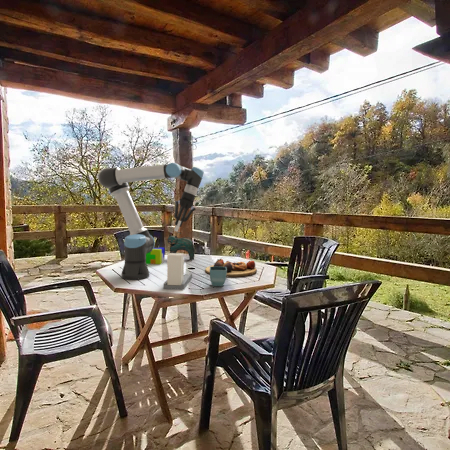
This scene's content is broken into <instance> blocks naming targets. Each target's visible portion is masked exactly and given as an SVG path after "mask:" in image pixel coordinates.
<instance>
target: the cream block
mask: <svg viewBox="0 0 450 450" xmlns="http://www.w3.org/2000/svg"><path fill="white" fill-rule="evenodd" d="M184 255H185V254H184V253H180V252H179V253H177V252H176V253H170V252H169V253H168V254H167V256H166V257H167V259H166V262H167V263H166V265H167V269H166V271H167V275H166V276H167V278H166V280H167V285H182V283H183V282H184V275H185V274H184V273H185V271H184V268H185V267H184V263H185V262H184V261H185V259H184V257H185V256H184Z"/></svg>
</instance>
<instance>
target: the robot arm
mask: <svg viewBox="0 0 450 450" xmlns="http://www.w3.org/2000/svg"><path fill="white" fill-rule="evenodd" d="M204 174H205V173H204V170H203V169H201V168H200V167H195V166H192V167H191V168H187V167H185V166H182V165H180V164H178V163H177V162H170V163H167V164H157V165H148V166H139V167H137V166H136V167H129V168H128V167H127V168H120V167H106V168H102V170H101V171H99V174H98V182H99V184H100V185H101V186H102V187H103V188H106V189H108V191H109V193H110V195H111V196H114V198H115V200H116V202H117V205H118V207H119V210H120V212H121V214H122V217H123V219H124V221H125V223H126V226H127V228H128V231H129V235H127V236H125V237H124V241H123V245H124V246H123V248H124V252H123V253H124V265H123V268H122V271H121V279H124V280H128V281H130V280H132V281H133V280H134V281H135V280H143V279H147V278H149V277H150V271H149V268H148V264H146V254H147V253H149V252H151V251H152V249H153V248H154V247H155V245H156V242H155V238H154V237H153V235H151V234H150V232H149V230H148V228H145V227H144V225H143V223H142V220H141V217H140V215H139V213H138V210H137V208H136V206H135V202H134V200H133V198H132V195H131V193H130V189H131V188H130V185H129V183H135V182H143V181H144V182H145V181H152V180H153V181H154V180H161V179H171V178H175V179H178V180H180V181H184V182H186V183H185V187H184V190H183V192H182V194H181V197H180V198H179V200H175V201H174V205H175V206H174V213H173V218H175V222H174V225H175V226H174V230H173V231H174V232H176V233H177V232H179V228H180V227H182V225H183V223H184V222H187V221H188V220H189V218H190V216H191V215H192V214H193V212H194V211H196V208H195V206H194V201H195V199H196V196H197V193H198V191H199V188H200V185H201V182H202V181H203V178H204V177H203V176H204ZM179 206H180V207H179ZM189 209H190V210H189ZM188 210H189V211H188Z"/></svg>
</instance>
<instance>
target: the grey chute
mask: <svg viewBox="0 0 450 450" xmlns="http://www.w3.org/2000/svg"><path fill="white" fill-rule="evenodd" d="M192 279H193V272H190V273H188V274H184V282H183V283H182V285H167V279H166V280H165V282H163V290H182V289H184V290H185V289H186V288H187V286H188V284H189V283H190V282H191V280H192Z"/></svg>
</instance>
